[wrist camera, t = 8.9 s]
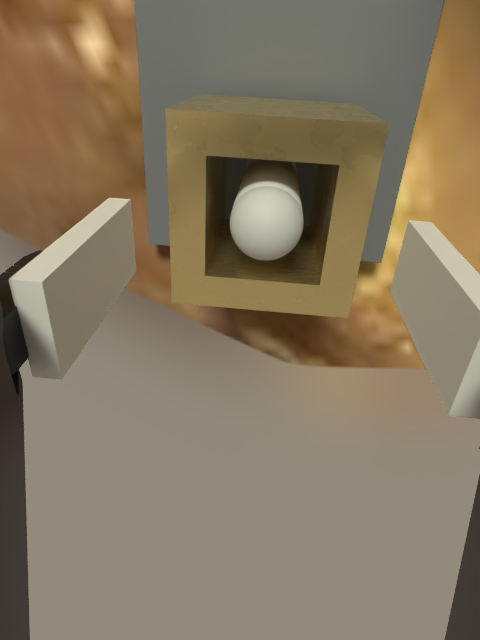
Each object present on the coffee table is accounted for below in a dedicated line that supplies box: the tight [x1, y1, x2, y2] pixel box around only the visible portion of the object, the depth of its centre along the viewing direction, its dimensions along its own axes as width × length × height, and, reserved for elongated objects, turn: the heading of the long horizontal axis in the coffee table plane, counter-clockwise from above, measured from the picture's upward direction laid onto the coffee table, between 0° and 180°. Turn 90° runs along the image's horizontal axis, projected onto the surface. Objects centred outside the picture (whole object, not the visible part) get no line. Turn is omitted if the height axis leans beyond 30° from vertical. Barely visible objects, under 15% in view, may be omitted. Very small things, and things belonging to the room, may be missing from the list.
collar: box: [165, 94, 390, 318], centre depth 21 cm, size 8×8×8 cm
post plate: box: [135, 0, 444, 263], centre depth 18 cm, size 15×22×12 cm
